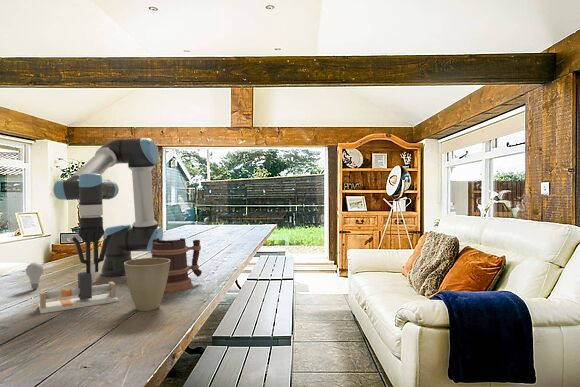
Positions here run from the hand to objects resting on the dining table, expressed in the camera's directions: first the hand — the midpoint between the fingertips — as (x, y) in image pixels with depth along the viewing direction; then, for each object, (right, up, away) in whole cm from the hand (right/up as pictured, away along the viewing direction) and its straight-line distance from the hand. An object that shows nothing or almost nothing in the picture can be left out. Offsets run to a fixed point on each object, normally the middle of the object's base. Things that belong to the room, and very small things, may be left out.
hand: (92, 281), depth 147 cm
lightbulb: (-33, -8, +20) cm, 39 cm away
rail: (-4, -7, -2) cm, 9 cm away
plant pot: (+23, -7, -8) cm, 25 cm away
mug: (+23, -7, +23) cm, 33 cm away
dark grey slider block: (-2, -5, -1) cm, 6 cm away
